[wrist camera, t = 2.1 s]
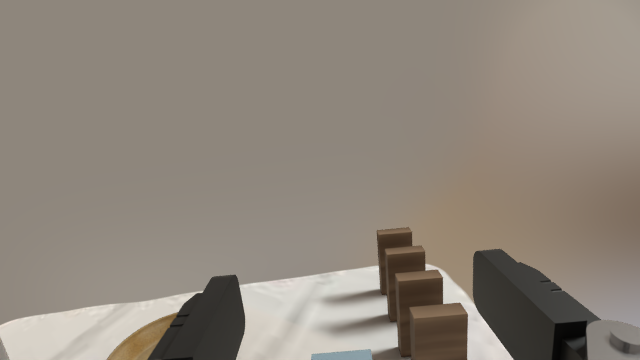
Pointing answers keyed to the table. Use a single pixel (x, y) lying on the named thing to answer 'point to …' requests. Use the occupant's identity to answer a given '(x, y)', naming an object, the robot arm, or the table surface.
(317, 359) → the domino
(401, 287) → the domino
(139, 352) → the plant saucer
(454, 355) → the domino
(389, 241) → the domino
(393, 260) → the domino
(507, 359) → the table surface
